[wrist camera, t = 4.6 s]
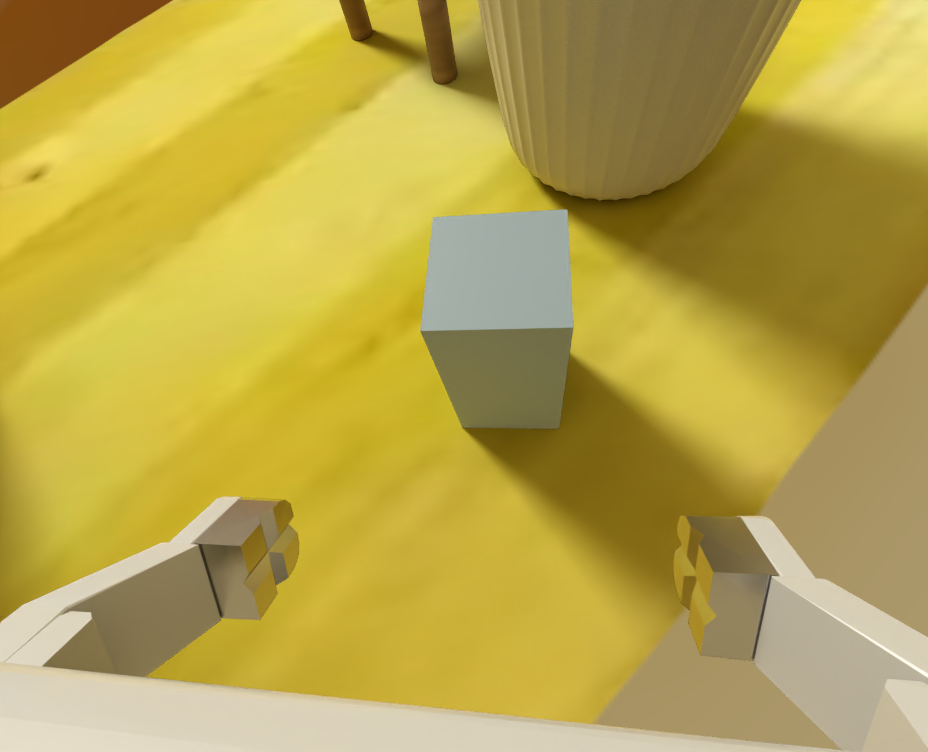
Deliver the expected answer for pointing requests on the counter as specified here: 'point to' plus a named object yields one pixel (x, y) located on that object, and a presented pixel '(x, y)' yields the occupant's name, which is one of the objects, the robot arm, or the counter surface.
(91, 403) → the counter surface
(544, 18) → the canister
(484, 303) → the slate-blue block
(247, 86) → the counter surface
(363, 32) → the walnut stool
